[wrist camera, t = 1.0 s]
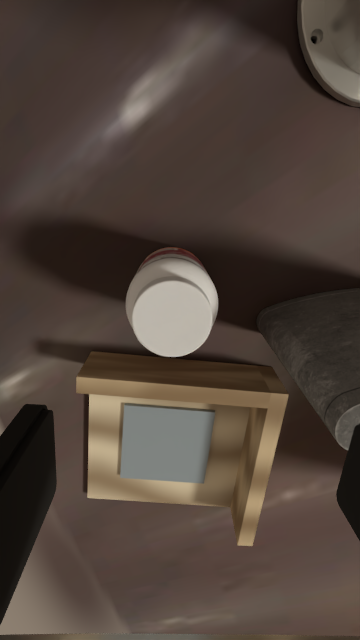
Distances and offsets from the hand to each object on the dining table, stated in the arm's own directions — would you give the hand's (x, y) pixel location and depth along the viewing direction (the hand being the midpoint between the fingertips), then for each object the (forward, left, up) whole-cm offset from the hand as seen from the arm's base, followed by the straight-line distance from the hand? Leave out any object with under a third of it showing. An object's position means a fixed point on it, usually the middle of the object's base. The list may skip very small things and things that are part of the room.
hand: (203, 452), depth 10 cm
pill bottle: (-1, -1, -21) cm, 21 cm away
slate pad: (+16, 0, -20) cm, 25 cm away
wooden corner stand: (+15, +1, -20) cm, 25 cm away
